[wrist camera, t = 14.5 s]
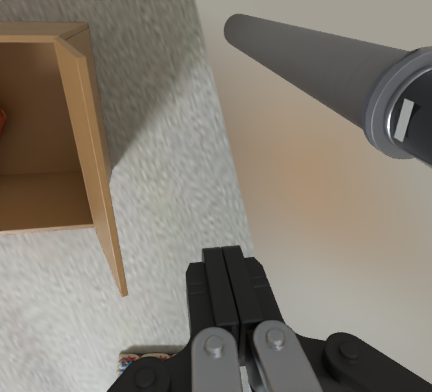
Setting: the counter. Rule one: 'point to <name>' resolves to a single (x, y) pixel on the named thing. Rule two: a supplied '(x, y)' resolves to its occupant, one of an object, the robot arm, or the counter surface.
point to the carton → (42, 131)
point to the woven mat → (132, 357)
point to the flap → (90, 153)
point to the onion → (2, 121)
